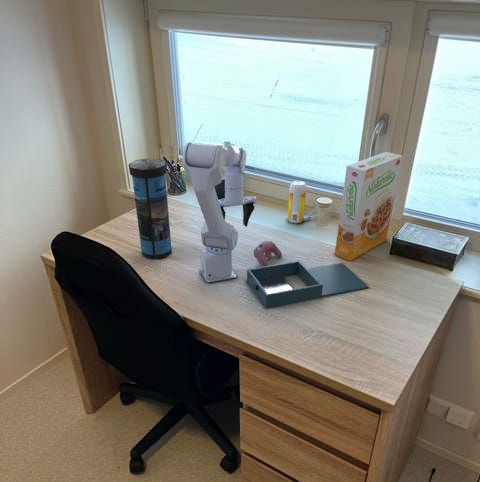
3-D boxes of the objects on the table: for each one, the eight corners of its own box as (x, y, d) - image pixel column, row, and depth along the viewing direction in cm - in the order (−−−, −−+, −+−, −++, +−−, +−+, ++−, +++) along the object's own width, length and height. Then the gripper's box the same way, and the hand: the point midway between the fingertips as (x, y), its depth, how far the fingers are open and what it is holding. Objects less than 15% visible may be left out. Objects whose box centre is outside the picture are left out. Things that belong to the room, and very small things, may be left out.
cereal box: (350, 260, 152) (364, 170, 136) (334, 254, 156) (346, 166, 139) (385, 240, 166) (402, 155, 149) (370, 234, 169) (385, 151, 153)
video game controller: (273, 257, 157) (266, 238, 155) (283, 255, 154) (276, 236, 152) (256, 269, 151) (249, 249, 149) (267, 267, 147) (259, 247, 145)
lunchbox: (263, 308, 129) (264, 295, 127) (245, 281, 141) (245, 269, 139) (368, 287, 138) (370, 275, 136) (342, 264, 150) (343, 252, 148)
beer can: (303, 217, 182) (306, 180, 173) (303, 224, 177) (306, 186, 168) (287, 217, 182) (290, 179, 174) (287, 223, 177) (290, 185, 169)
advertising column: (180, 250, 158) (173, 162, 141) (158, 263, 150) (148, 172, 133) (155, 242, 163) (146, 156, 146) (132, 254, 155) (120, 165, 139)
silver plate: (270, 304, 131) (270, 303, 131) (254, 282, 141) (255, 282, 141) (300, 298, 133) (300, 297, 133) (282, 277, 143) (282, 277, 143)
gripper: (251, 179, 148) (250, 219, 156) (208, 184, 144) (209, 224, 152) (259, 187, 143) (258, 227, 150) (214, 192, 139) (215, 233, 146)
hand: (234, 226), depth 151 cm, fingers open, 7 cm apart
